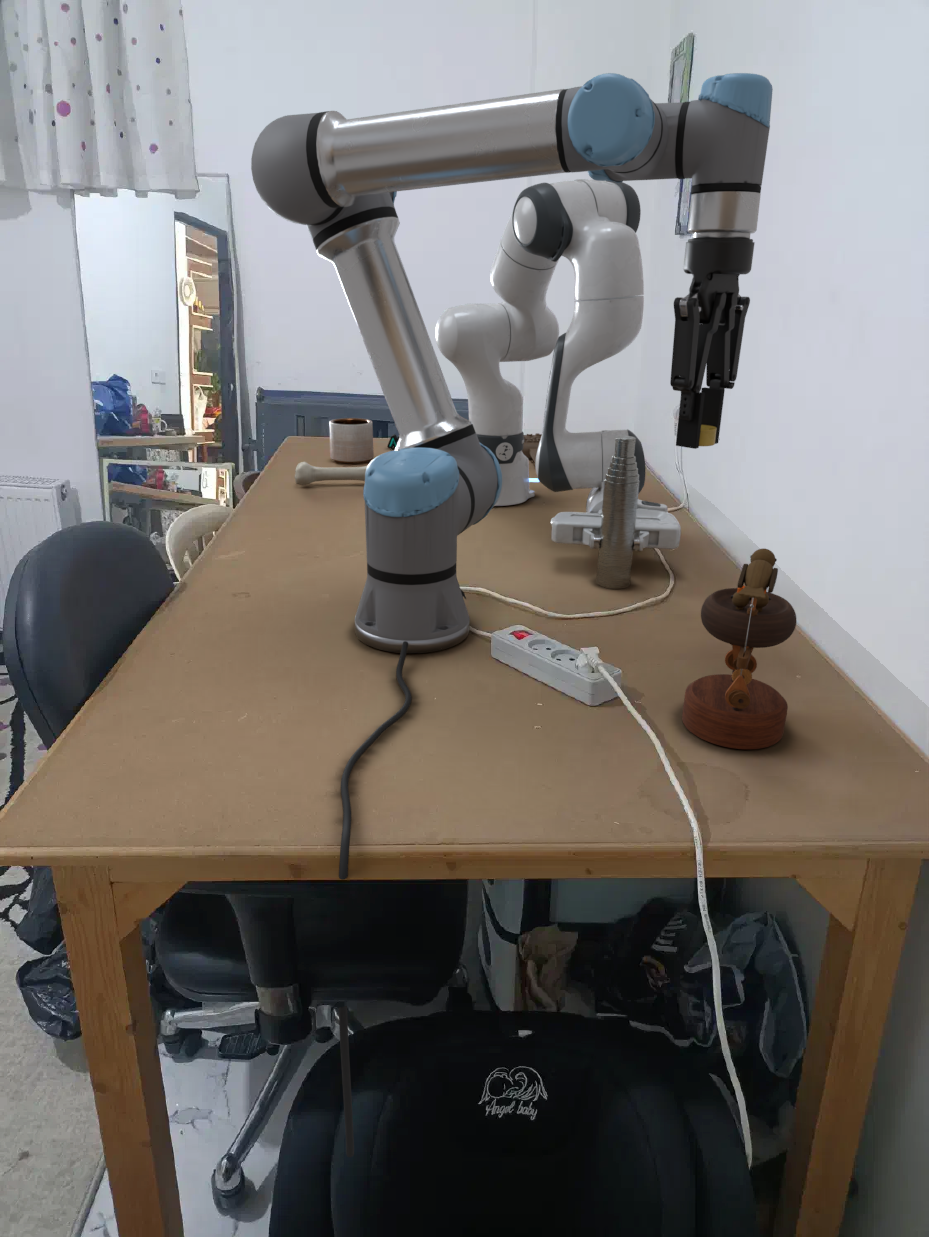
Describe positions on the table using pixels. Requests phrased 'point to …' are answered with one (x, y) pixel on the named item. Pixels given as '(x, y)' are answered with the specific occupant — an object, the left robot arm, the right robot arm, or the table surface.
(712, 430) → the cap
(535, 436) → the ice cream bar
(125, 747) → the table surface
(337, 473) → the dog toy
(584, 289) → the right robot arm
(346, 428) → the planter
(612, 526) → the bottle
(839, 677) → the table surface
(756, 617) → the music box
